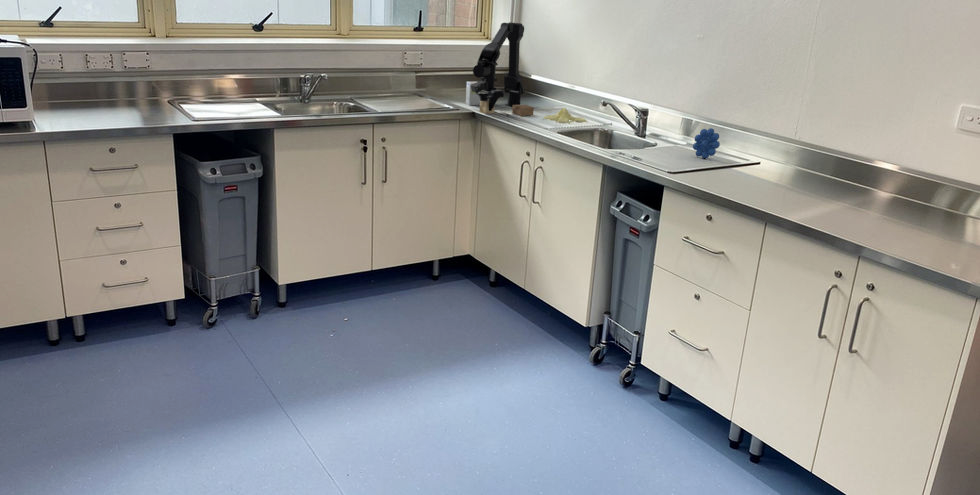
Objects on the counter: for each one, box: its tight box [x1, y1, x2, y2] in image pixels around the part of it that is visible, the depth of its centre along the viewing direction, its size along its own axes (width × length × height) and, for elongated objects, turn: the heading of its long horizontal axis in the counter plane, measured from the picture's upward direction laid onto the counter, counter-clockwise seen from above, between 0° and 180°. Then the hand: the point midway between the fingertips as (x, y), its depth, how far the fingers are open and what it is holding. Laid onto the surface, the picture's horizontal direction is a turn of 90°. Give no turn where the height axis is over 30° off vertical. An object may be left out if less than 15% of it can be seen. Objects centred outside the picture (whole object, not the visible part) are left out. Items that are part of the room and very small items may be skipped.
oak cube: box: [479, 101, 496, 114], centre depth 381 cm, size 5×5×5 cm
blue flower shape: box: [692, 127, 721, 159], centre depth 312 cm, size 12×7×12 cm, turn 39°
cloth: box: [543, 107, 588, 125], centre depth 376 cm, size 22×19×6 cm
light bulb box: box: [465, 81, 489, 106], centre depth 400 cm, size 11×7×11 cm, turn 108°
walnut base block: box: [511, 104, 534, 117], centre depth 381 cm, size 7×7×4 cm
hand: (486, 109), depth 381 cm, fingers closed on oak cube, 5 cm apart
